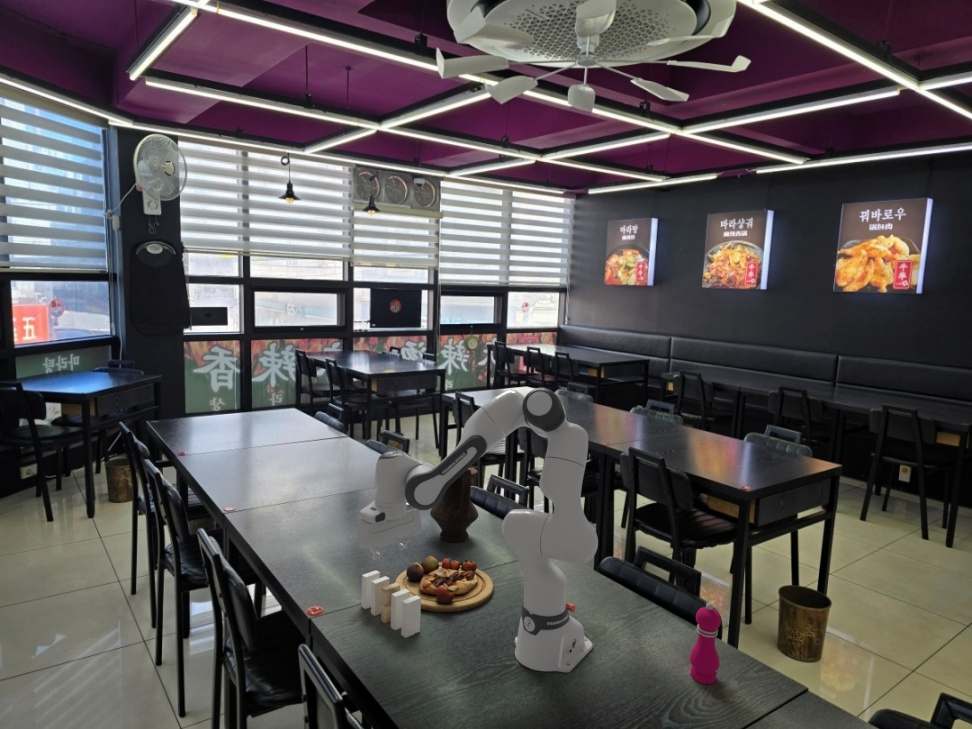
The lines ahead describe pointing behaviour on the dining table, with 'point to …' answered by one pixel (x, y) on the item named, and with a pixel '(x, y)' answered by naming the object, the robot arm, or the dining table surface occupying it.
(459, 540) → the jug
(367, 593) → the domino
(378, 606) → the domino
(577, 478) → the robot arm
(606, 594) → the dining table surface
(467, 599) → the wooden plate with food
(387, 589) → the domino
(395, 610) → the domino
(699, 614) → the pepper mill
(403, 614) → the domino
